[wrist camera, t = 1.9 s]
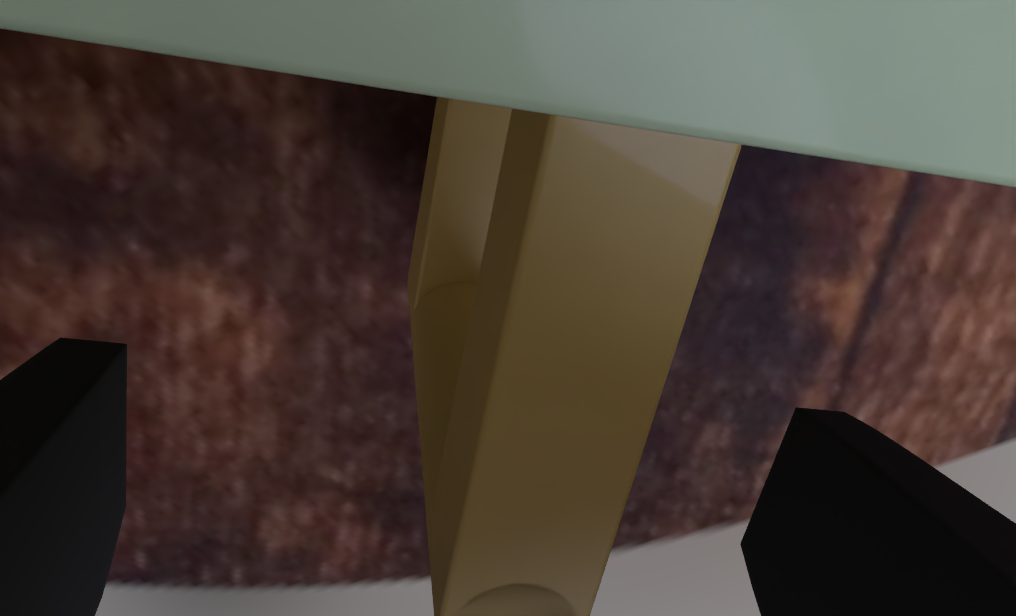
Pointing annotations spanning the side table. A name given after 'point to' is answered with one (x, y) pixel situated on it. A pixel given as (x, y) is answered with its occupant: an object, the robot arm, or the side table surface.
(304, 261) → the side table surface
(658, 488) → the side table surface
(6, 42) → the side table surface
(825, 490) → the robot arm
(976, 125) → the door
